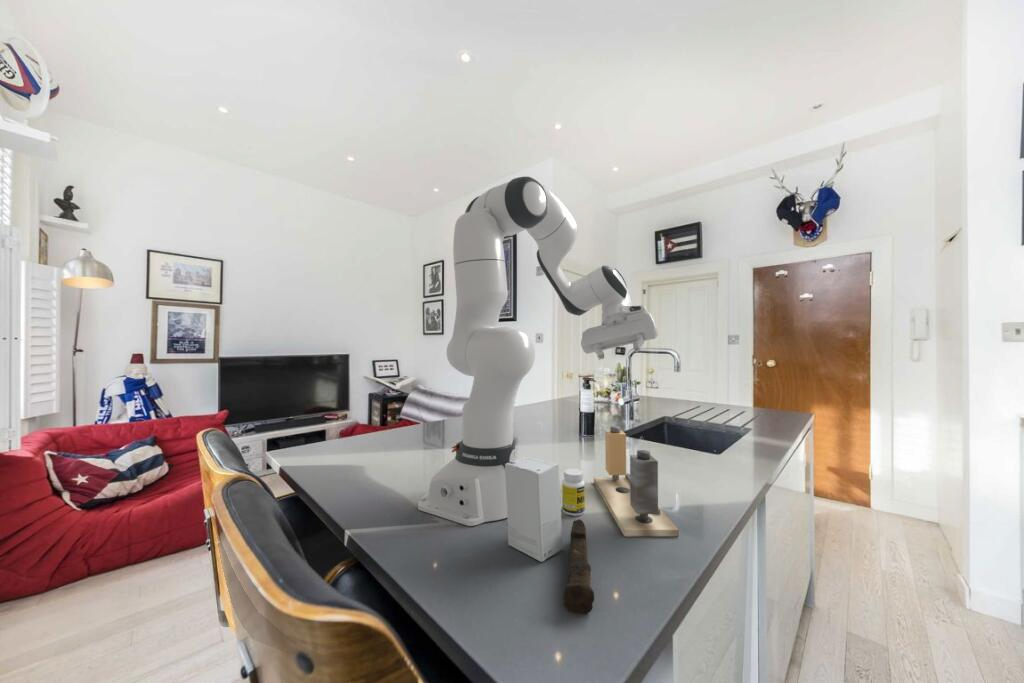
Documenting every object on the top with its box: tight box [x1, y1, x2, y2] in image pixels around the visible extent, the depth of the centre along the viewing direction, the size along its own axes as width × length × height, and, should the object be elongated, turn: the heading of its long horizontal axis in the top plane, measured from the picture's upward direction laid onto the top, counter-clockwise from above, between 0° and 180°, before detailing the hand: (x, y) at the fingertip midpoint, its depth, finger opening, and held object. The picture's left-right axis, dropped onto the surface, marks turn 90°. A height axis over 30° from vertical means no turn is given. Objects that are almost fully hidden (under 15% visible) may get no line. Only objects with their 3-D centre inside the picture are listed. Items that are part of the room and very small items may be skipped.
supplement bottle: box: [561, 468, 586, 517], centre depth 78 cm, size 5×5×8 cm
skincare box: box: [505, 456, 563, 563], centre depth 65 cm, size 8×6×15 cm
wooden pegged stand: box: [593, 449, 680, 537], centre depth 81 cm, size 10×26×14 cm, turn 0°
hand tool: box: [562, 518, 595, 614], centre depth 58 cm, size 19×4×5 cm, turn 167°
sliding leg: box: [604, 425, 627, 480], centre depth 92 cm, size 4×4×13 cm
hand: (618, 353), depth 96 cm, fingers open, 8 cm apart
